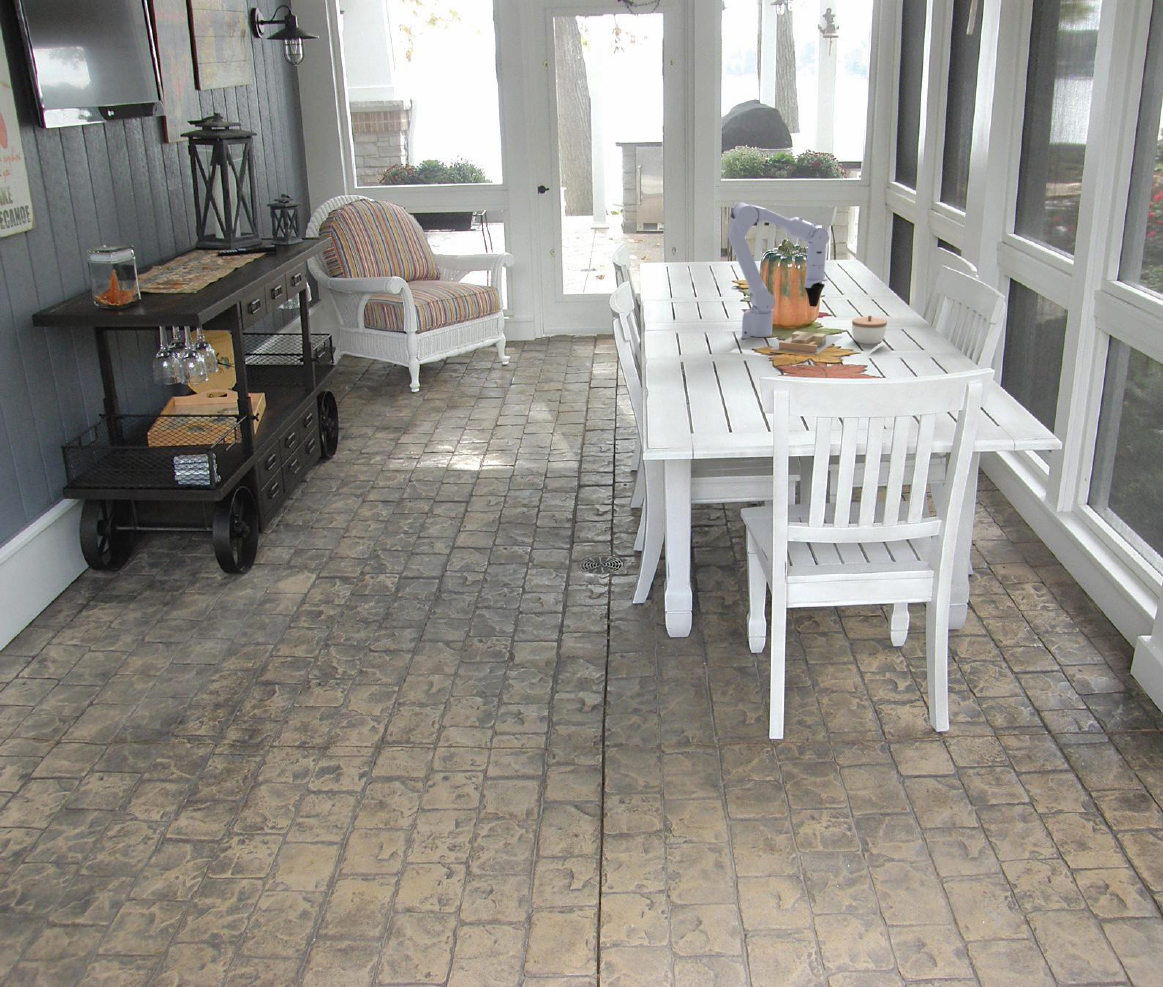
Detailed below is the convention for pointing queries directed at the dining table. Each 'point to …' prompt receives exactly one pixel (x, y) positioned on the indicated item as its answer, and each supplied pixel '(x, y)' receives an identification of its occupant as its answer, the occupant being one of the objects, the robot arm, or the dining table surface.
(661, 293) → the dining table surface
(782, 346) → the board
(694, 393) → the dining table surface
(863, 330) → the lidded jar
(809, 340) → the t block
